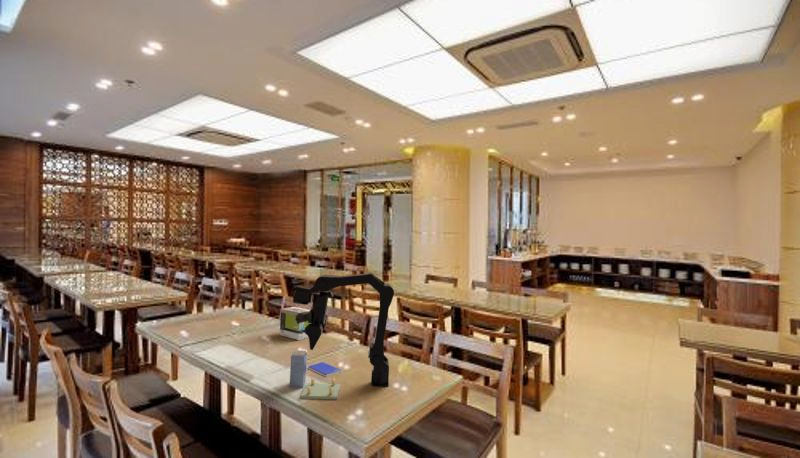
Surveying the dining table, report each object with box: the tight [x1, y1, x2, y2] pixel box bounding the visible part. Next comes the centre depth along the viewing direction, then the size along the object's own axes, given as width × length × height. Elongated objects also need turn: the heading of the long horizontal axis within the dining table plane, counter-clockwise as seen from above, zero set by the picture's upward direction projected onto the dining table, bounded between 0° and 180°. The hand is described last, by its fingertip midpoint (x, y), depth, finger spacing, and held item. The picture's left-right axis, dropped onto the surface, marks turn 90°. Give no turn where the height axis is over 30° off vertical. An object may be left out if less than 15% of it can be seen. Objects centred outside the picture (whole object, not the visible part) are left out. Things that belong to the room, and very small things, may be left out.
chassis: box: [300, 377, 341, 400], centre depth 145 cm, size 13×11×4 cm
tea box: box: [279, 306, 311, 341], centre depth 214 cm, size 15×10×15 cm
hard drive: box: [307, 361, 342, 378], centre depth 167 cm, size 2×8×12 cm
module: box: [289, 350, 308, 389], centre depth 151 cm, size 5×5×13 cm
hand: (313, 345), depth 154 cm, fingers open, 9 cm apart
